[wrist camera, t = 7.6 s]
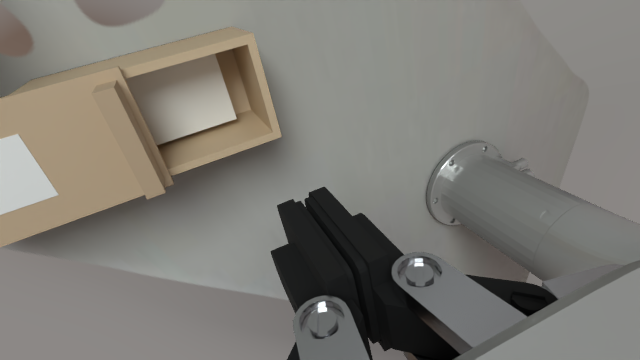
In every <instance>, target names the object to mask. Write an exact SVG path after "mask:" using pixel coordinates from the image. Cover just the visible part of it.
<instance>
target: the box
mask: <svg viewBox="0 0 640 360" xmlns="http://www.w3.org/2000/svg"><path fill="white" fill-rule="evenodd" d="M118 65H119V67H120V69H121V71H122V73H123V75H124V78H125V80H126V82H127V84H128V86H129V88H130V90H131V92H132V94H133V97H134V99H135V101H136V103H137V105H138V107H139V109H140V111H141V114H142V116H143V118H144V120H145V122H146V124H147V126H148V128H149V130H150V133H151V135H152V137H153V139H154V141H155V143H156V145H157V147H158V150H159V152H160V154H161V156H162V158H163V160H164V162H165V164H166V166H167V169H168V171H169V173H170V175H171V176H173V175H176V174H179V173H182V172H184V171H187V170H190V169H193V168H196V167H199V166H201V165H204V164H207V163H210V162H213V161H215V160H218V159H221V158H224V157H227V156H229V155H232V154H235V153H238V152H241V151H244V150H246V149H249V148H252V147H255V146H258V145H260V144H263V143H266V142H269V141H272V140H274V139H277V138H280V137H282V135H281V132H280V128H279V124H278V121H277V117H276V114H275V110H274V106H273V103H272V99H271V96H270V92H269V88H268V85H267V81H266V77H265V74H264V70H263V67H262V63H261V59H260V56H259V52H258V49H257V45H256V41H255V38H254V34H253V33H251V32H248V31H244V30H241V29H238V28H234V27H228V28H225V29H221V30H217V31H213V32H210V33H206V34H202V35H198V36H194V37H191V38H187V39H183V40H179V41H176V42H172V43H168V44H164V45H161V46H157V47H153V48H149V49H146V50H142V51H138V52H134V53H131V54H127V55H123V56H119V57H115V58H112V59H108V60H104V61H100V62H97V63H93V64H89V65H85V66H82V67H78V68H74V69H70V70H67V71H63V72H59V73H55V74H52V75H48V76H44V77H40V78H36V79H33V80H31V81H29V82H28V83H26V84H25V85H23V86H22V87H20V88H19V89H17V90H16V91H14V92H13V93H11V94H15V93H19V92H22V91H26V90H30V89H34V88H37V87H41V86H45V85H48V84H52V83H56V82H59V81H63V80H67V79H70V78H74V77H78V76H81V75H85V74H89V73H92V72H96V71H100V70H104V69H107V68H111V67H115V66H118ZM11 94H10V95H11Z"/></svg>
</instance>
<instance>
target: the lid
mask: <svg viewBox="0 0 640 360" xmlns="http://www.w3.org/2000/svg"><path fill="white" fill-rule="evenodd" d="M171 185H174V182H173V179H172V177H171V175H170V173H169V171H168V169H167V166H166V164H165V162H164V160H163V158H162V156H161V154H160V152H159V150H158V147H157V145H156V143H155V141H154V139H153V137H152V135H151V133H150V130H149V128H148V126H147V124H146V122H145V120H144V118H143V116H142V114H141V111H140V109H139V107H138V105H137V103H136V101H135V99H134V97H133V94H132V92H131V90H130V88H129V86H128V84H127V82H126V80H125V78H124V75H123V73H122V71H121V69H120V67H119V65H118V66H115V67H111V68H107V69H104V70H100V71H96V72H92V73H89V74H85V75H81V76H78V77H74V78H70V79H67V80H63V81H59V82H56V83H52V84H48V85H45V86H41V87H37V88H34V89H30V90H26V91H22V92H19V93H15V94H11V95H8V96H4V97H0V247H2V246H5V245H8V244H11V243H13V242H16V241H19V240H22V239H25V238H27V237H30V236H33V235H36V234H38V233H41V232H44V231H47V230H49V229H52V228H55V227H58V226H60V225H63V224H66V223H69V222H71V221H74V220H77V219H80V218H83V217H85V216H88V215H91V214H94V213H96V212H99V211H102V210H105V209H107V208H110V207H113V206H116V205H118V204H121V203H124V202H127V201H130V200H132V199H135V198H138V197H141V196H143V195H145V196H146V198H147V199H150V198H153V197H155V196H158V195H161V194H164V193H166V189H165V187H168V186H171Z"/></svg>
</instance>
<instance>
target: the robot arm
mask: <svg viewBox="0 0 640 360" xmlns="http://www.w3.org/2000/svg"><path fill="white" fill-rule="evenodd" d="M527 166H528V162H527V160H526V159H525V158H521V159H519V160H516V161H514V162H513V163H511V162H508V161H506V160H504V159H502V157H501V154H500V153H499V151H498V150H497V149H496V148H495V147H494V146H493V145H491V144H488V143H486V142H483V141H470V142H466V143H464V144H462V145H459V146H458V147H456V148H455V149H453V150H452V151H451V152H450V153H448V154H447V155H446V156H445V157H444V158H443V159H442V161H441V162H440V163H439V164H438V166H437V167H436V169H435V171H434V173H433V175H432V177H431V179H430V182H429V185H428V190H427V205H428V209H429V211H430V213H431V214H432V215H433V217H434V218H435V219H437V220H438V221H440V222H441V223H443V224H446V225H459V224H463V225H464V226H466V227H467V228H469V229H470V230H471V231H473V232H474V233H476V234H477V235H478V236H480V237H481V238H483V239H484V240H485V241H487V242H488V243H490V244H491V245H493V246H494V247H495V248H497V249H498V250H500V251H501V252H502V253H504V254H505V255H507V256H508V257H510V258H511V259H512V260H514V261H515V262H517V263H518V264H519V265H521V266H522V267H524V268H525V269H526V270H528V271H529V272H531V273H532V274H534V275H535V276H536V277H538V278H539V279H541V280H542V281H543V283H542V286H541V287H540V286H537V285H534V284H529V283H524V282H517V281H509V280H501V279H494V278H486V277H479V276H471V275H464V274H463V273H461V272H460V271H458V270H457V269H455V268H454V267H452V266H451V265H449V264H448V263H446V262H445V261H443V260H442V259H440V258H439V257H437V256H435V255H433V254H429V253H425V252H413V253H409V254H406V255H404V254H403V253H402V252H401V251H400V250H399V249H398V248H397V247H396V246H395V245H394V244H393V243H392V242H391V241H390V240H389V239H388V238H387V237H386V236H385V235H384V234H383V233H382V232H381V231H380V230H379V229H378V228H377V227H376V226H375V225H374V224H373V223H372V222H371V221H370V220H369V219H368V218H367V217H366V216H365V215H363V214H362V213H359V214H357V215H355V216H352V215H351V214H350V213H349V212H348V211H347V210H346V209H345V208H344V207H343V206H342V205H341V204H340V202H339V201H338V200H337V199H336V198H335V197H334V196H333V195H332V194H331V193H330V192H329V191H328V190H327V189H326V188H325V187H322V188H319V189H317V190H314V191H312V192H309V197H308V198H306V199H305V205H306V207H305V206H304V205H303V203H302V202H301V201H298V202H295V201H294V200H293V199H292V200H289V201H287V202H284V203H282V204H279V205H277V208H278V211H279V215H280V218H281V221H282V224H283V227H284V230H285V233H286V236H287V240H288V243H289V244H287V245H284V246H282V247H279V248H277V249H275V250H272V251H271V255H272V258H273V261H274V263H275V266H276V269H277V272H278V274H279V277H280V280H281V282H282V284H283V287H284V289H285V292H286V294H287V296H288V298H289V300H290V303H291V305H292V307H293V309H294V311H295V317H294V320H293V329H294V333H295V338H296V342H295V345H294V347H293V349H292V351H291V353H290V355H289V357H288V359H287V360H373V359H372V355H371V350H370V346H369V341H368V338H369V339H370V341H371V342H372V343H373V344H374V343H376V342H379V343H380V345H381V346H382V348H383V349H384V351H386V350H388V349H390V348H393V349H395V350H400V351H403V352H404V355H405V357H406V358H407V360H640V224H638V223H636V222H633V221H631V220H628V219H626V218H624V217H621V216H619V215H616V214H614V213H612V212H610V211H608V210H605V209H603V208H601V207H599V206H597V205H594V204H592V203H590V202H588V201H586V200H583V199H581V198H579V197H576V196H574V195H572V194H570V193H568V192H566V191H563V190H561V189H559V188H557V187H555V186H553V185H550V184H548V183H546V182H544V181H542V180H539V179H537V178H535V176H534V173H533V172H532V171H531V170H530V169H525V170H522V171H520V170H521V169H523V168H525V167H527ZM306 208H307V209H306Z"/></svg>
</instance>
